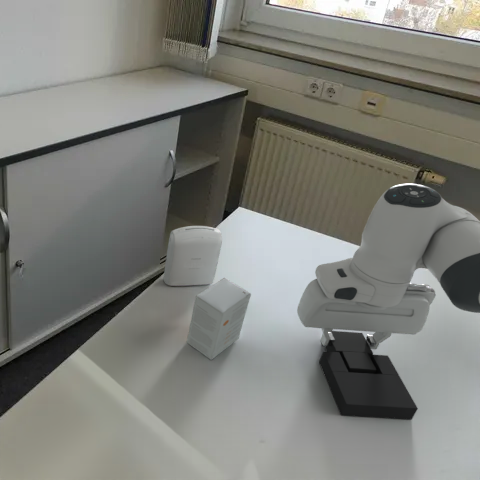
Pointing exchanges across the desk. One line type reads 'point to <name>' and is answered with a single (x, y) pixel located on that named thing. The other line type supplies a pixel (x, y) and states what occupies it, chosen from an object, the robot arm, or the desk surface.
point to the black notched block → (368, 389)
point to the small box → (217, 317)
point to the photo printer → (192, 256)
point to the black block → (353, 351)
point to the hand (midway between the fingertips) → (347, 345)
